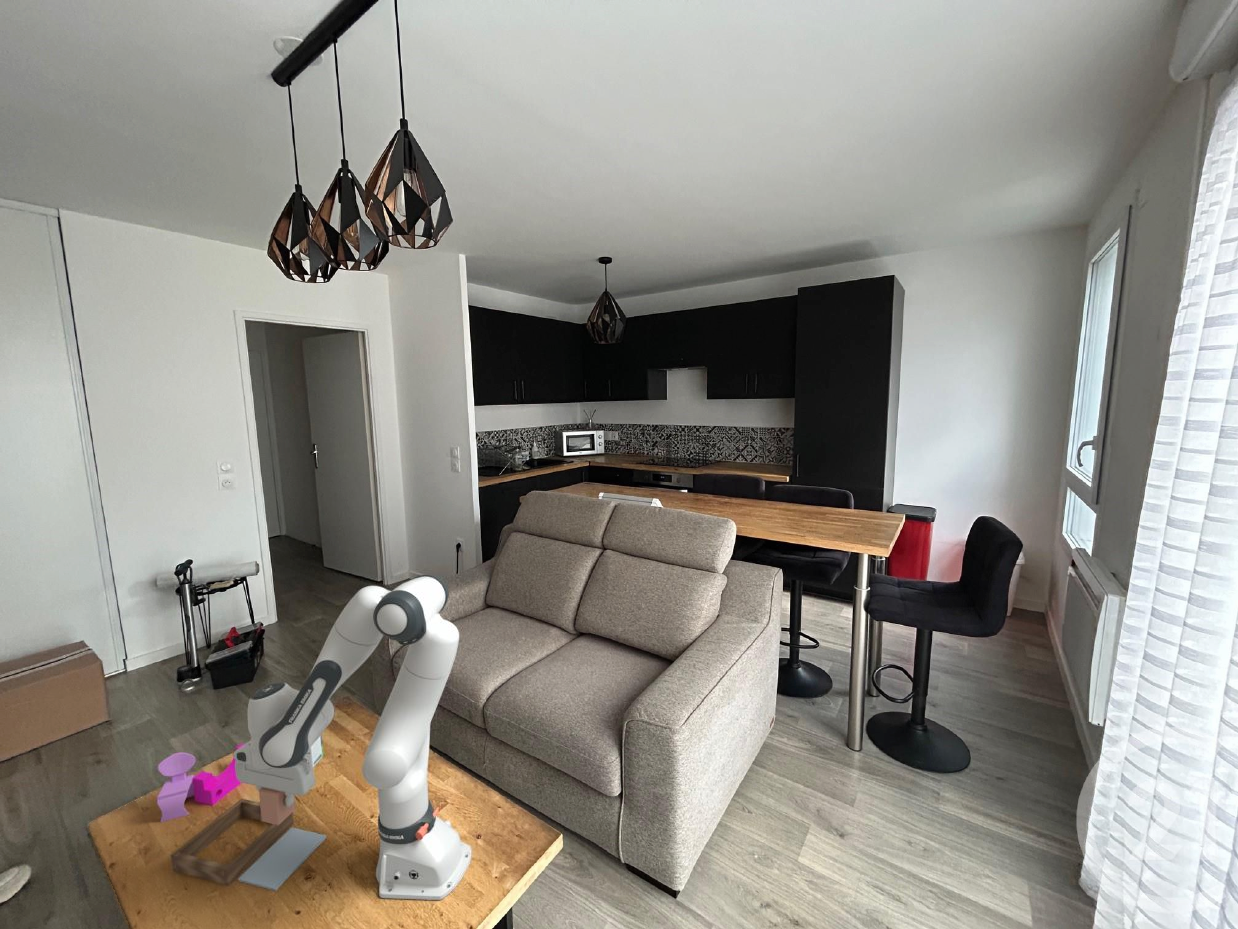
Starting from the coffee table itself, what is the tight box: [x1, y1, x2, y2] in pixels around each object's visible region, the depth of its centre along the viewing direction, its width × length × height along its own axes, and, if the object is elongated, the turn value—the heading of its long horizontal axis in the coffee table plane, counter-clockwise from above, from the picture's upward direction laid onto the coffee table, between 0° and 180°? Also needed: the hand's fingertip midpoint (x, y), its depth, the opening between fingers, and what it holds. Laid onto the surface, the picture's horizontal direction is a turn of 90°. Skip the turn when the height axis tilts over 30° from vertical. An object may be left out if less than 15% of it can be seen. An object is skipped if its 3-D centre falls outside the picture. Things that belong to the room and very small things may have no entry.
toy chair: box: [156, 751, 196, 823], centre depth 142 cm, size 8×9×15 cm
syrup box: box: [305, 733, 325, 769], centre depth 160 cm, size 6×6×14 cm
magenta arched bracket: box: [192, 743, 245, 806], centre depth 151 cm, size 15×6×8 cm, turn 167°
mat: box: [237, 827, 327, 892], centre depth 127 cm, size 11×15×1 cm
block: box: [258, 787, 297, 825], centre depth 125 cm, size 5×5×8 cm
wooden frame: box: [170, 798, 294, 887], centre depth 130 cm, size 17×18×4 cm
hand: (277, 801), depth 125 cm, fingers closed on block, 5 cm apart
